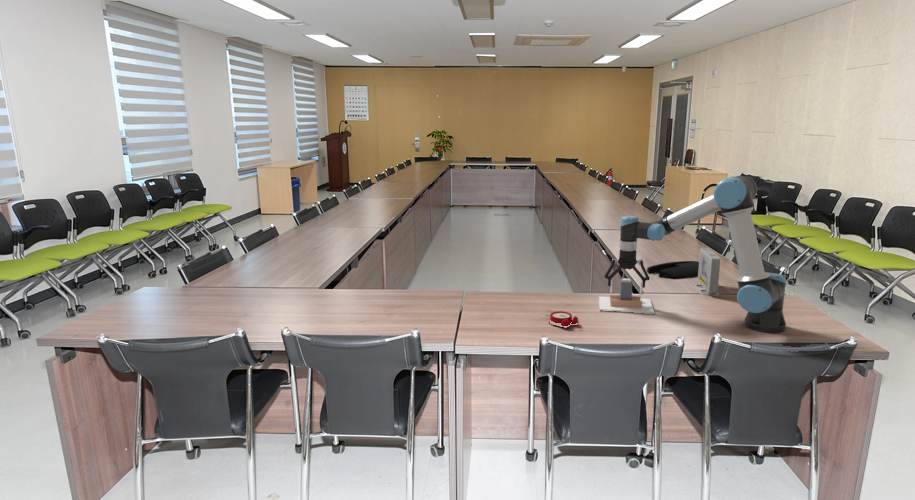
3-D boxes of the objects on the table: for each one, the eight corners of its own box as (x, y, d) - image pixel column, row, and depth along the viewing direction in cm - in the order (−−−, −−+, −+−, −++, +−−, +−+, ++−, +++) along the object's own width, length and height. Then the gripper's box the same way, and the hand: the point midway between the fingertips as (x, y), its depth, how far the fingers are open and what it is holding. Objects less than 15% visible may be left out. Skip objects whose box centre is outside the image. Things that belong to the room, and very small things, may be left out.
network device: (721, 297, 267) (725, 258, 263) (702, 297, 269) (706, 257, 264) (709, 283, 291) (712, 247, 287) (691, 283, 293) (694, 247, 289)
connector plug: (631, 305, 254) (632, 281, 252) (620, 305, 255) (621, 280, 253) (630, 302, 259) (631, 278, 256) (619, 302, 260) (620, 277, 258)
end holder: (654, 314, 245) (654, 305, 244) (599, 311, 251) (599, 302, 250) (649, 300, 264) (650, 293, 263) (598, 298, 270) (599, 290, 269)
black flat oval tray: (725, 273, 313) (725, 265, 312) (669, 281, 298) (670, 272, 297) (692, 264, 335) (692, 256, 334) (639, 271, 321) (639, 263, 320)
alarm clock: (558, 309, 244) (584, 310, 231) (560, 323, 244) (586, 325, 231) (542, 314, 238) (566, 315, 225) (544, 328, 238) (569, 330, 225)
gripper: (655, 248, 252) (652, 292, 257) (600, 246, 258) (598, 289, 263) (657, 252, 245) (654, 297, 250) (600, 250, 251) (598, 294, 255)
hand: (625, 293), depth 256 cm, fingers open, 13 cm apart
